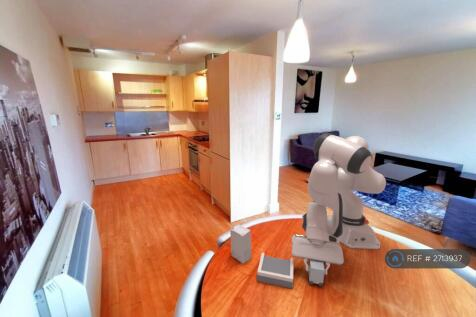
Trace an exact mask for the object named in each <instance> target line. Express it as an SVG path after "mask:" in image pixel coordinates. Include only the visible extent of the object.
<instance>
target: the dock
mask: <svg viewBox="0 0 476 317" xmlns="http://www.w3.org/2000/svg"><path fill="white" fill-rule="evenodd" d="M294 258H295V257H290V260H289V259H284V258H279V257H273V256H269V255H265V252H261V255H260V260H259V263H258V268H257V272H256V273H257V274H256V275H257V277H256V279H257V280H256V281H257V282H260V283H264V284H270V285H274V286H279V287H284V288H287V289H288V288H289V289H293V286H294V283H293V282H294Z"/></svg>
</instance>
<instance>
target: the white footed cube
mask: <svg viewBox="0 0 476 317" xmlns="http://www.w3.org/2000/svg"><path fill="white" fill-rule="evenodd" d="M308 266H309V267H310V272H309V271H308V281H309V282H308V284H309V285H313V284H317V285H318V287H323V284H324V278H325V275H324V271H325V270H324V269H325V265H324V262H323V261H317V260H312V259H310V260H309V265H308Z"/></svg>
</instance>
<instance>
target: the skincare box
mask: <svg viewBox="0 0 476 317" xmlns="http://www.w3.org/2000/svg"><path fill="white" fill-rule="evenodd" d="M229 230H230V232H229V234H230V248H231V249H230V250H231V253H230V254H231V257H233V258H234V259H236V260H237V261H239V262H240V263H241V264H243V265H244V264H245V263H247V262H248V261H250V260H251V259H252V239H251V238H252V234H251V229H249V228H247V227H245V226H243V225H241V224H237V225H235V226H233V227H231V228H230V229H229Z"/></svg>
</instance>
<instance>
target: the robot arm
mask: <svg viewBox="0 0 476 317" xmlns="http://www.w3.org/2000/svg"><path fill="white" fill-rule="evenodd" d="M369 149H370V148H369V145H368V142H367V140H366V139H365V138H363V137H361V136H358V135H352V136H351V135H350V136H348V137H346V138H344V137H341V136H337V135H335V134H333V133H329V132H323V133H321V134H320V135H319V136H318V137H317V138H316V139H315V140H314V144H313V154H314V159H315V160H316V163H315V164H314V165H313V167H312V168H311V170H310V171H311V172H310V174H309V176H308V177H309V178H308V183H307V194H308V196H309V198H310V199H311V200H312V201H309V202H308V203H307V208H306V213H304V214H303V215H302V216H301V217H302V224H301V228H302V230H303V231H304V232H305V235H303V234H298V233H297V234H296V233H295V234H294V235H292V236H291V244H292V247H291V256H292V258H298V259H303V263H304V265H305V272H308V273H309V272H310V267H309V266H310V265H309V264H308V263H307V262H308V261H310V259H312V260H317V261H323V263H325V267H324V270H325V271H324V276H327V275H328V270H329V268H330V267H331V264H333V265H338V266H341V265H343V264H344V261H345V260H344V253H343V249H342V246H341V245H340V244H343V245H345V246H346V247H347V248H349V249H366V250H380V249H381V242H380V241H379V238H378V237H377V235H376V232H375V230H374V229H373V228H372V226H370V225H369V223H370V221H369V220H368V219H367V218H366V216H365V215H364V214H363V213H364V212H363V211H364V206H365V204H364V201H363V200H362V198H361V197H359V196H358V195H357V194H355V193H354V191H355V192H356V191H357V192H361V193H365V194H380V193H382V192H383V191H384V190H385V188H386V185H387V181H386V178H385V176H384V175H383V173H379V172H377V170H375V169H373V167H371V162H372V160H373V155H372V152H371V151H370V150H369ZM327 208H329V209H330V210H332V214H330V215H328V211H327Z"/></svg>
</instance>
